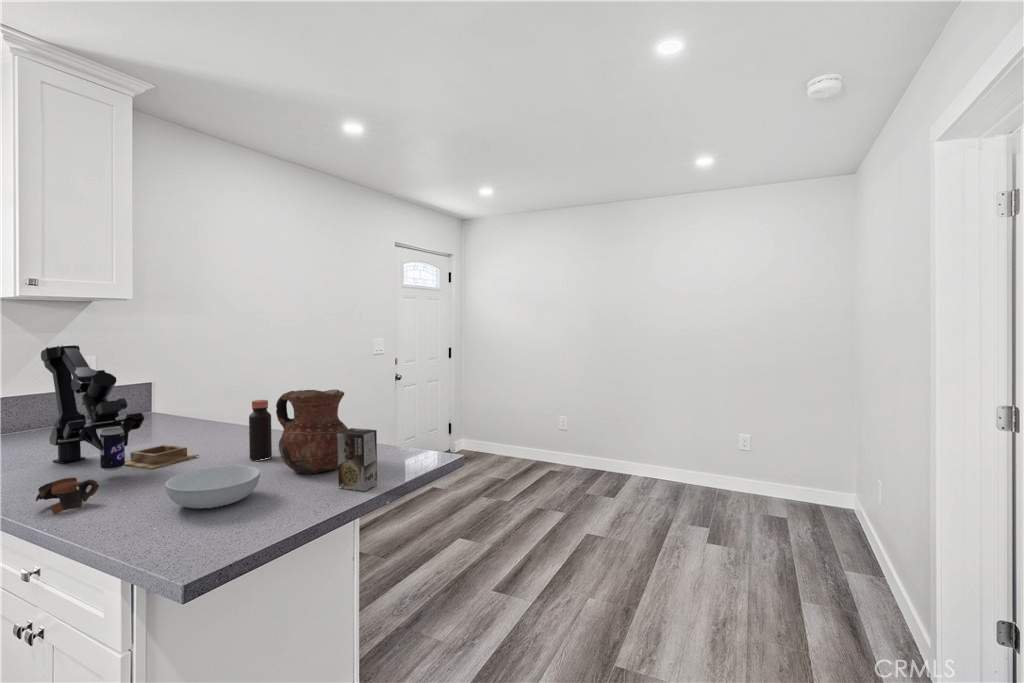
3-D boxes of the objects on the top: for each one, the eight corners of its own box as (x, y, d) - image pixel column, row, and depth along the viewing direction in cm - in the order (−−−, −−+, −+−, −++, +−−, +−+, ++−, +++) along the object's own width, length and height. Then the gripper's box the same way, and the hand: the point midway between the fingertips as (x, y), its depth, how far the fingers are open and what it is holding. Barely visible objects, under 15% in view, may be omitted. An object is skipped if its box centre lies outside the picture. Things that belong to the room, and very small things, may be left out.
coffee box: (378, 485, 140) (377, 429, 139) (364, 492, 134) (364, 434, 133) (351, 481, 143) (351, 427, 142) (337, 488, 137) (336, 432, 136)
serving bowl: (191, 525, 112) (191, 495, 112) (150, 507, 123) (149, 480, 123) (276, 498, 130) (276, 472, 129) (233, 484, 141) (233, 460, 140)
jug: (343, 455, 171) (342, 385, 170) (360, 471, 153) (360, 392, 153) (274, 465, 159) (272, 389, 158) (284, 483, 141) (282, 398, 140)
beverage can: (111, 472, 144) (110, 431, 143) (95, 470, 145) (94, 430, 144) (129, 466, 149) (129, 427, 149) (114, 465, 150) (113, 426, 150)
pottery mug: (36, 520, 116) (27, 487, 117) (49, 524, 123) (40, 494, 125) (99, 497, 123) (90, 467, 124) (108, 502, 130) (99, 474, 132)
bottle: (275, 457, 168) (275, 400, 167) (256, 462, 162) (255, 403, 162) (264, 455, 172) (263, 398, 171) (245, 459, 166) (244, 401, 165)
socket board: (118, 464, 160) (117, 453, 160) (167, 452, 175) (167, 442, 175) (150, 469, 154) (150, 458, 154) (198, 456, 169) (198, 446, 169)
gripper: (66, 394, 140) (82, 437, 135) (141, 387, 156) (158, 425, 151) (56, 418, 144) (71, 460, 139) (130, 408, 160) (147, 446, 155)
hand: (114, 447), depth 146 cm, fingers closed on beverage can, 6 cm apart
